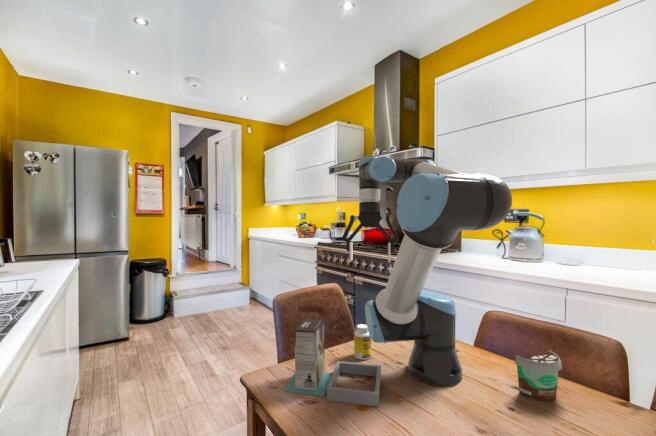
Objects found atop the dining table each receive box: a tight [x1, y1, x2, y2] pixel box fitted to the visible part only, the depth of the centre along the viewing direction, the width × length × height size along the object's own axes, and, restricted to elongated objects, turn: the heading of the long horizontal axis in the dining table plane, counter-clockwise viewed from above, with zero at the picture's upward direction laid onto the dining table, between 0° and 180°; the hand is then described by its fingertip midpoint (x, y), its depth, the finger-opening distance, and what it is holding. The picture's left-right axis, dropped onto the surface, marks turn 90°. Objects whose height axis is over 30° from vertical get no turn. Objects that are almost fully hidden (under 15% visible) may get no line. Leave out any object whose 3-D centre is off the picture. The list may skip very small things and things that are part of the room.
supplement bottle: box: [353, 323, 372, 361], centre depth 101 cm, size 6×6×10 cm
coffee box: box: [294, 318, 326, 391], centre depth 85 cm, size 9×6×16 cm
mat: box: [283, 372, 333, 397], centre depth 85 cm, size 11×11×1 cm
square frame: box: [326, 360, 382, 408], centre depth 83 cm, size 13×15×3 cm
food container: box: [514, 349, 563, 402], centre depth 78 cm, size 12×6×10 cm, turn 105°
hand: (370, 261), depth 108 cm, fingers open, 13 cm apart
